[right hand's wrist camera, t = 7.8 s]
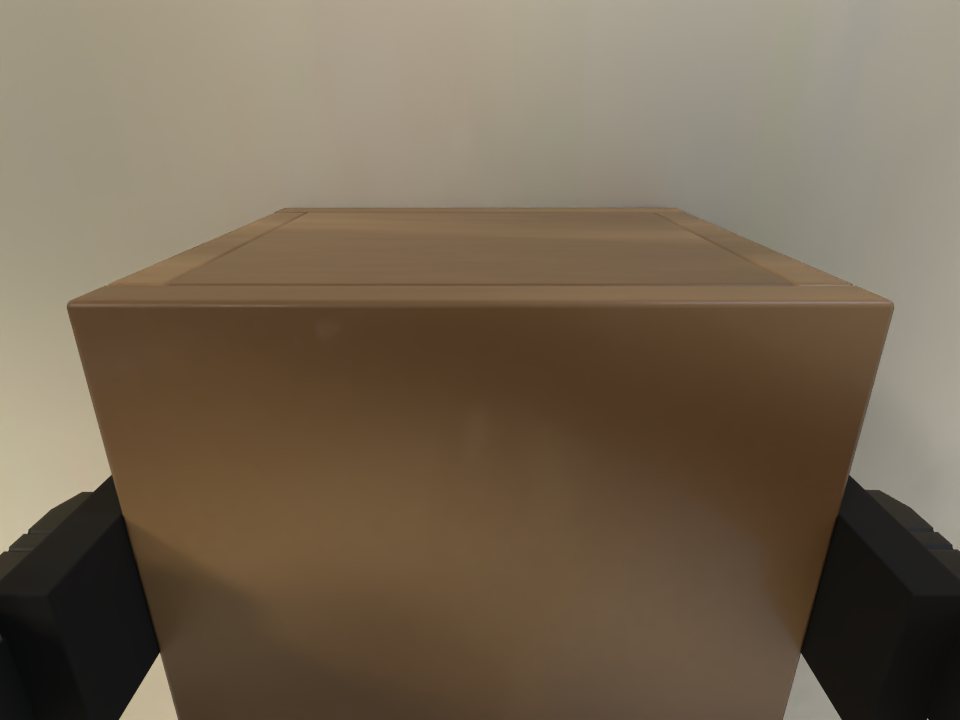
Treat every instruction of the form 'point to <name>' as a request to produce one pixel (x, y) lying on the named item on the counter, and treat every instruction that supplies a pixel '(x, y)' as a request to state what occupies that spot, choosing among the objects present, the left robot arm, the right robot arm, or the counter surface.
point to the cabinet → (480, 461)
